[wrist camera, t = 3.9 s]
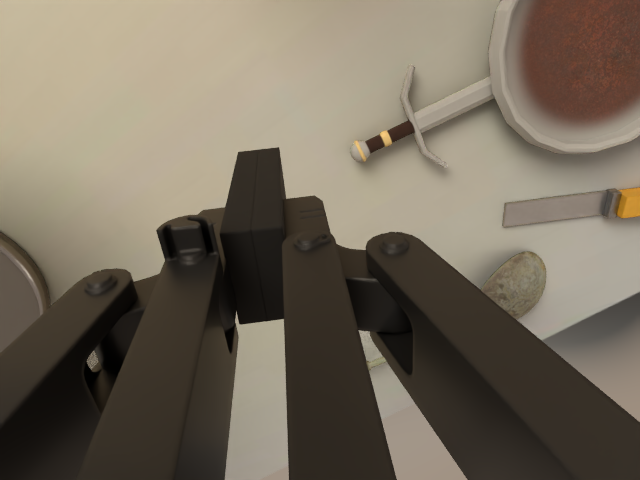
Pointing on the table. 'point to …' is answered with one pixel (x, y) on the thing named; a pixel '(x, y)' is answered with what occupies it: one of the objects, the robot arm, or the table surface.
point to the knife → (574, 207)
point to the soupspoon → (511, 287)
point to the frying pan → (547, 78)
